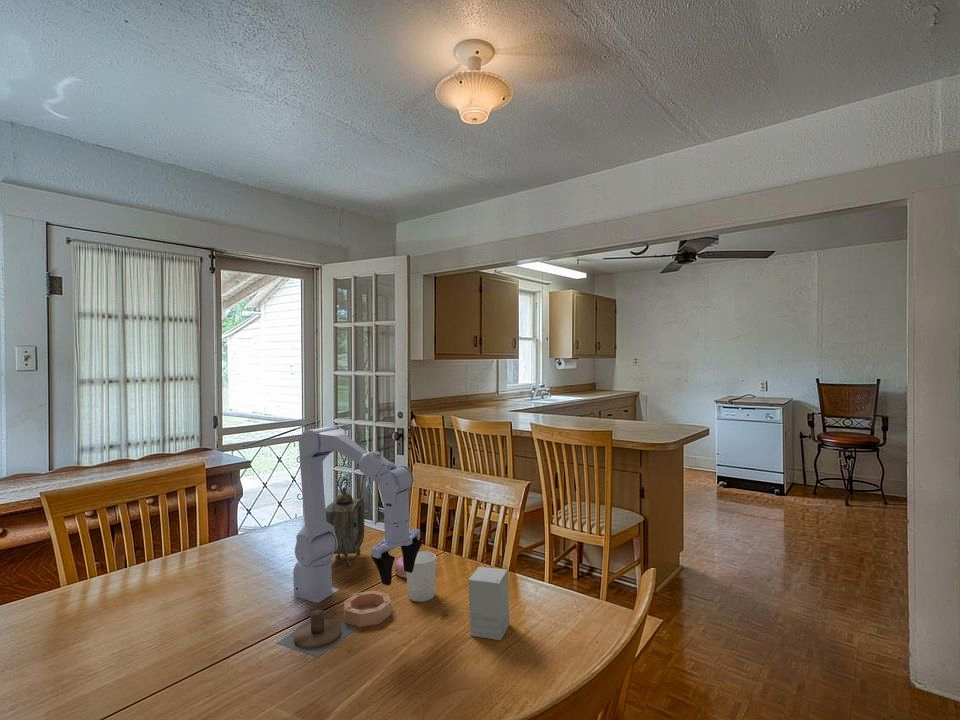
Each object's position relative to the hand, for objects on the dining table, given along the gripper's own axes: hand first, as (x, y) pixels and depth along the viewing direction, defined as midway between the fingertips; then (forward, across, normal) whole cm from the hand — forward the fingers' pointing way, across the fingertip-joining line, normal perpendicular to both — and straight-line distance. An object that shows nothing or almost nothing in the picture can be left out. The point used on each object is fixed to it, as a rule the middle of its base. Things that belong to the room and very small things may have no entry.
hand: (397, 577), depth 117 cm
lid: (+9, -15, +10) cm, 20 cm away
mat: (+10, -15, +10) cm, 21 cm away
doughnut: (+10, +22, +14) cm, 28 cm away
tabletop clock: (+10, +18, +38) cm, 43 cm away
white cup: (+10, +12, +3) cm, 16 cm away
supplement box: (+10, +7, -21) cm, 24 cm away
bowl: (+10, -2, +8) cm, 13 cm away
